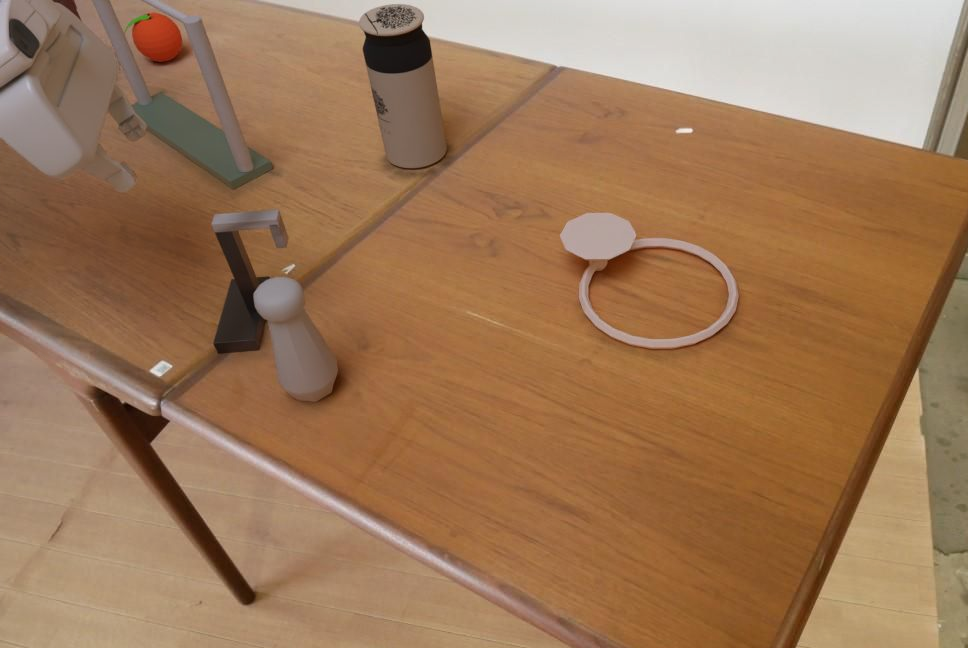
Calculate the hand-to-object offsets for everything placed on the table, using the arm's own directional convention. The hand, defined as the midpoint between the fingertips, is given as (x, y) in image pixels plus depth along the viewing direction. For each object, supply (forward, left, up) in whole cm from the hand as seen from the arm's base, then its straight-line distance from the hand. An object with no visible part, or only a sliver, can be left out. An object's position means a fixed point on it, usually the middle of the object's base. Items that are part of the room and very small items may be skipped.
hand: (135, 159), depth 76 cm
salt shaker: (+16, -7, -19) cm, 26 cm away
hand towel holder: (+45, +14, -19) cm, 51 cm away
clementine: (-38, +51, -19) cm, 66 cm away
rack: (-20, +31, -19) cm, 41 cm away
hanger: (+6, +1, -19) cm, 20 cm away
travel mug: (+11, +34, -19) cm, 40 cm away
